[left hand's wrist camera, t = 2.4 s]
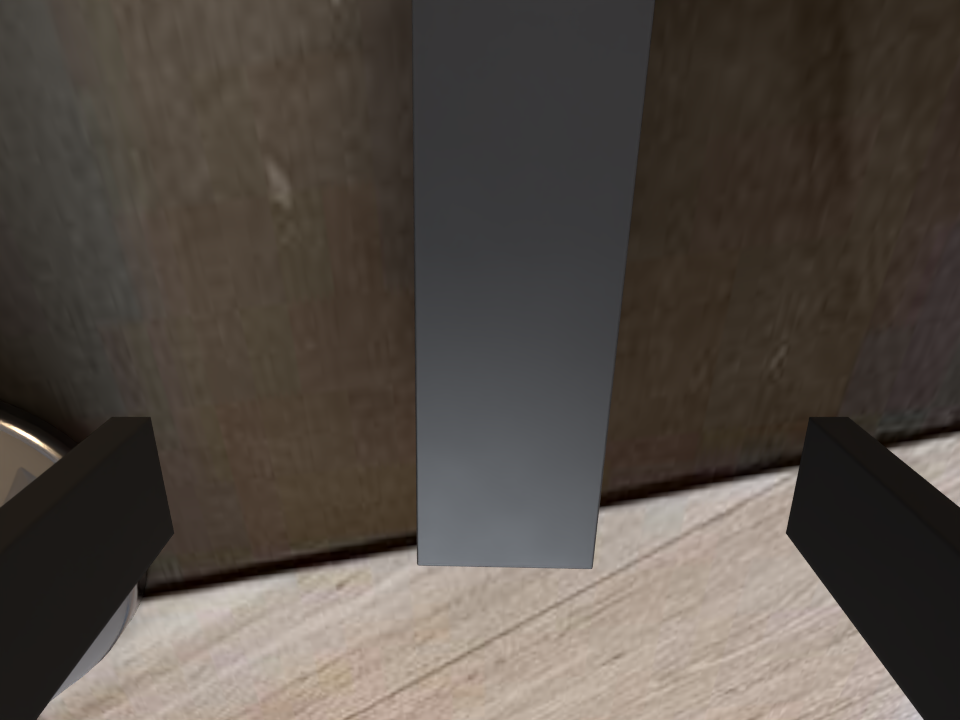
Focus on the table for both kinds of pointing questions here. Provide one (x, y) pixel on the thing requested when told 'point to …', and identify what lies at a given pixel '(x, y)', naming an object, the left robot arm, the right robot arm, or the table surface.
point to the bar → (520, 268)
